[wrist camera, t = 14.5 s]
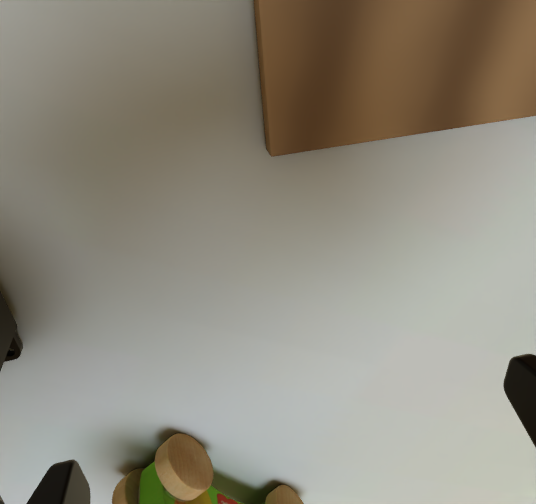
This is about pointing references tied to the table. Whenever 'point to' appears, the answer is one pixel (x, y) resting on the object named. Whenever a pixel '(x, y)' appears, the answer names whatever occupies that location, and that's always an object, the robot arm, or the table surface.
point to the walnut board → (391, 68)
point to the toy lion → (182, 479)
